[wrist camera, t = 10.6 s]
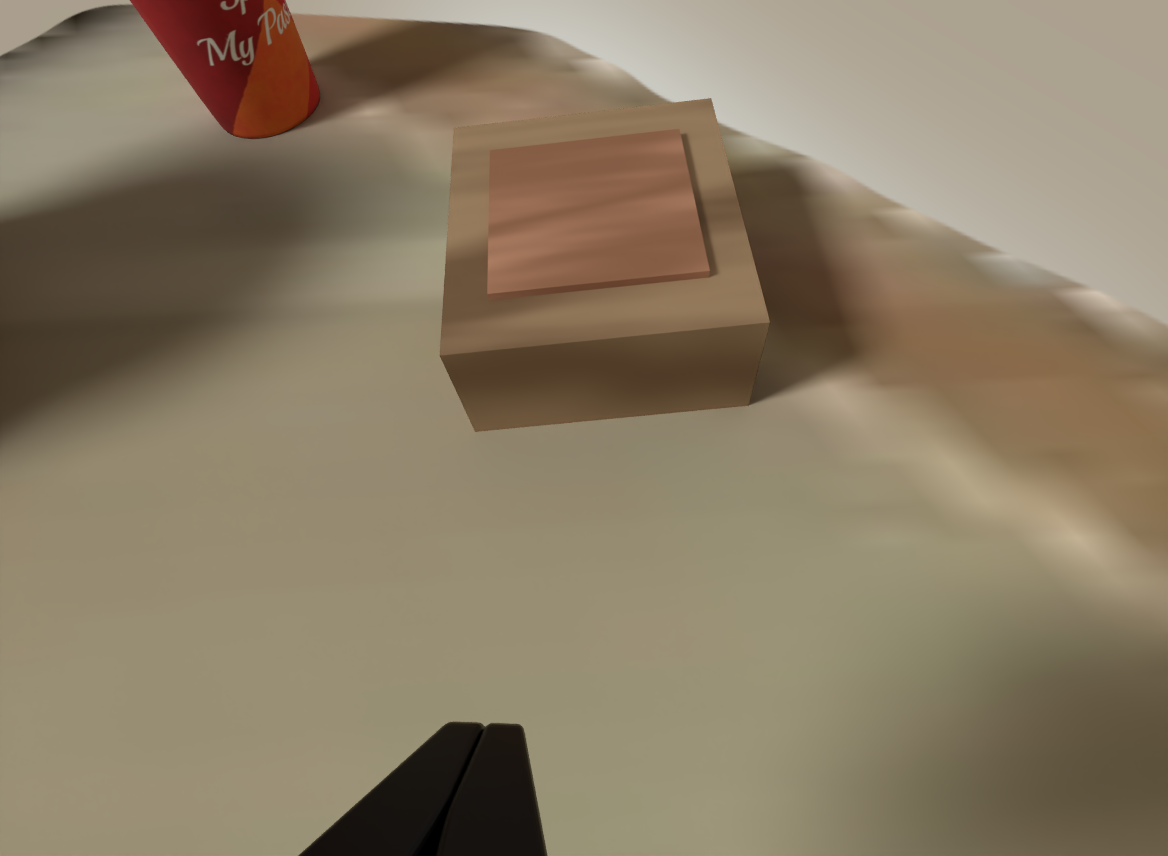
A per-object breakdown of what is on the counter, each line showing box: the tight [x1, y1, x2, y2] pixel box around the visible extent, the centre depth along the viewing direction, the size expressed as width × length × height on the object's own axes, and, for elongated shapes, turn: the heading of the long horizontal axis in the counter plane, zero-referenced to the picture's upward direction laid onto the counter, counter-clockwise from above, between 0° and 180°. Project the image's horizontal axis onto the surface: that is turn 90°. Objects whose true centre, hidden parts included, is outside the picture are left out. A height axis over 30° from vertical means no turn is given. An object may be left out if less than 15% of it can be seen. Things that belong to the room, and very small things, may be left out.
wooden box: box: [440, 98, 770, 432], centre depth 24 cm, size 5×10×11 cm
